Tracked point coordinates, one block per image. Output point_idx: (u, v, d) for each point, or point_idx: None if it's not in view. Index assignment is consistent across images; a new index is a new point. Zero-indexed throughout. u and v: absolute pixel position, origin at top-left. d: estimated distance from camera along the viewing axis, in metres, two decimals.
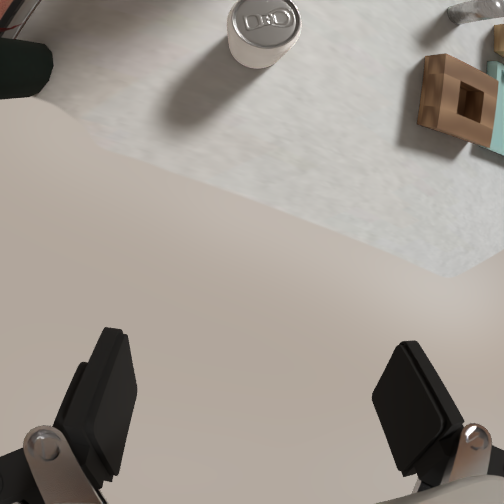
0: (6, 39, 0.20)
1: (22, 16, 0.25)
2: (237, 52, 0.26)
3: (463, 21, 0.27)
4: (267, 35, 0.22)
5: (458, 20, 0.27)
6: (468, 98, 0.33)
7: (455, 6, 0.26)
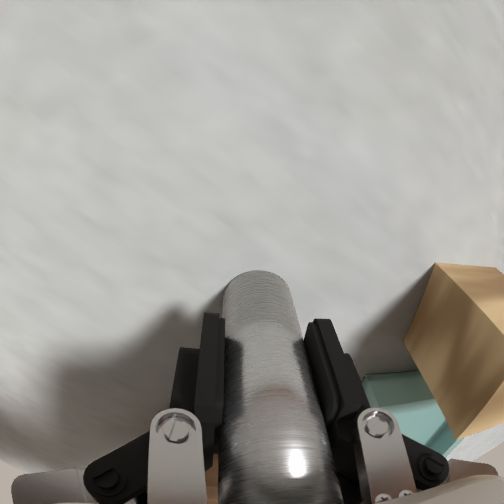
0: None
1: None
2: None
3: None
4: None
5: None
6: None
7: (225, 314, 0.12)
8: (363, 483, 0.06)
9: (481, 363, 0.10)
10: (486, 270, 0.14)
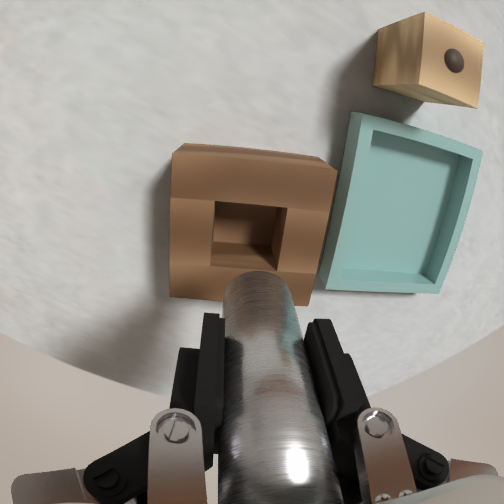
0: None
1: None
2: None
3: None
4: None
5: None
6: (277, 206, 0.23)
7: (225, 314, 0.12)
8: (363, 483, 0.06)
9: (412, 36, 0.15)
10: None
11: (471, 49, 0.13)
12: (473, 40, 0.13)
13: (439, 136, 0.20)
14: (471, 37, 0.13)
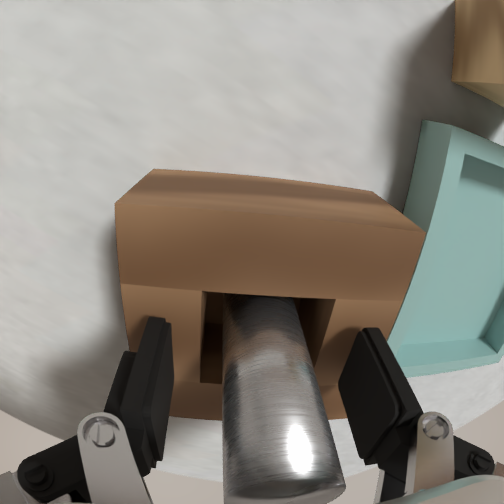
0: None
1: None
2: None
3: None
4: None
5: None
6: None
7: (226, 299, 0.13)
8: None
9: None
10: None
11: None
12: None
13: None
14: None
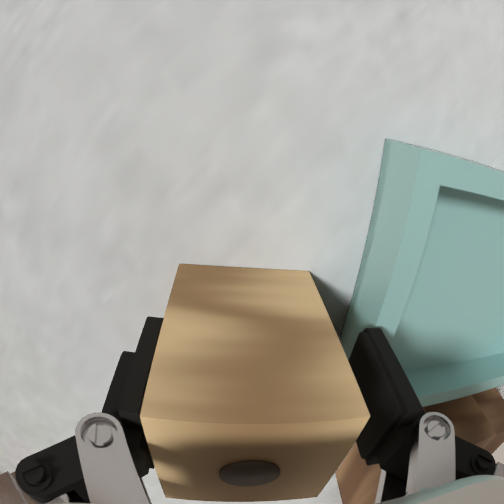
0: None
1: None
2: None
3: None
4: None
5: None
6: None
7: None
8: None
9: None
10: None
11: (193, 446, 0.06)
12: (158, 440, 0.06)
13: (387, 299, 0.10)
14: (153, 443, 0.06)
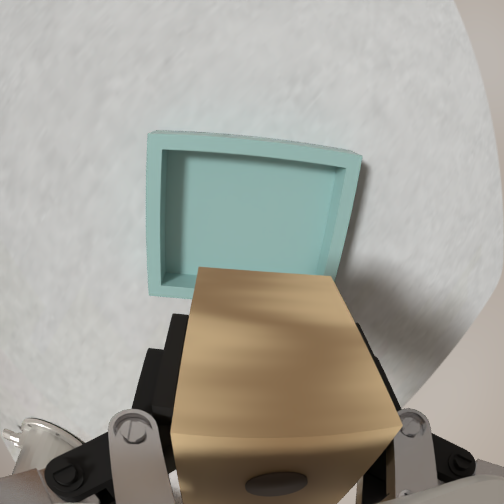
0: None
1: None
2: None
3: None
4: None
5: None
6: None
7: None
8: None
9: None
10: None
11: (223, 460, 0.06)
12: (187, 455, 0.06)
13: (147, 209, 0.21)
14: (181, 458, 0.06)
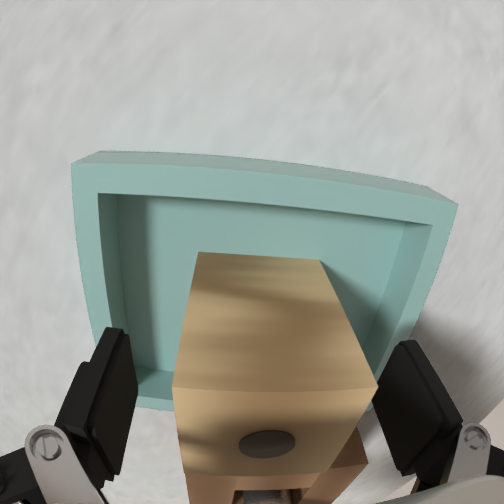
0: None
1: None
2: None
3: None
4: None
5: None
6: None
7: None
8: None
9: None
10: None
11: (218, 415, 0.07)
12: (186, 411, 0.07)
13: (87, 295, 0.11)
14: (181, 414, 0.07)
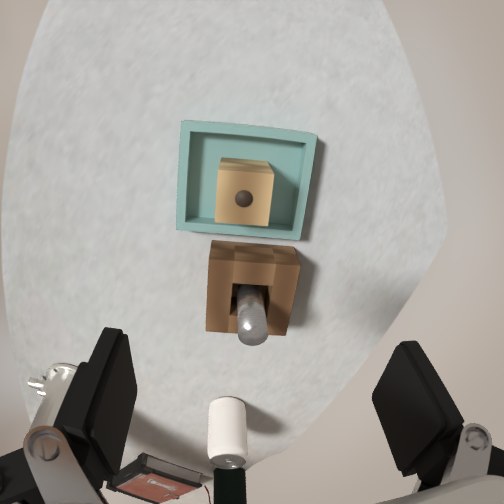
0: (217, 498, 0.57)
1: (183, 472, 0.64)
2: None
3: None
4: (237, 460, 0.43)
5: None
6: None
7: None
8: None
9: None
10: None
11: (229, 181, 0.28)
12: (220, 180, 0.28)
13: (179, 169, 0.32)
14: (218, 182, 0.28)
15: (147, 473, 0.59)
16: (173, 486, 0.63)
